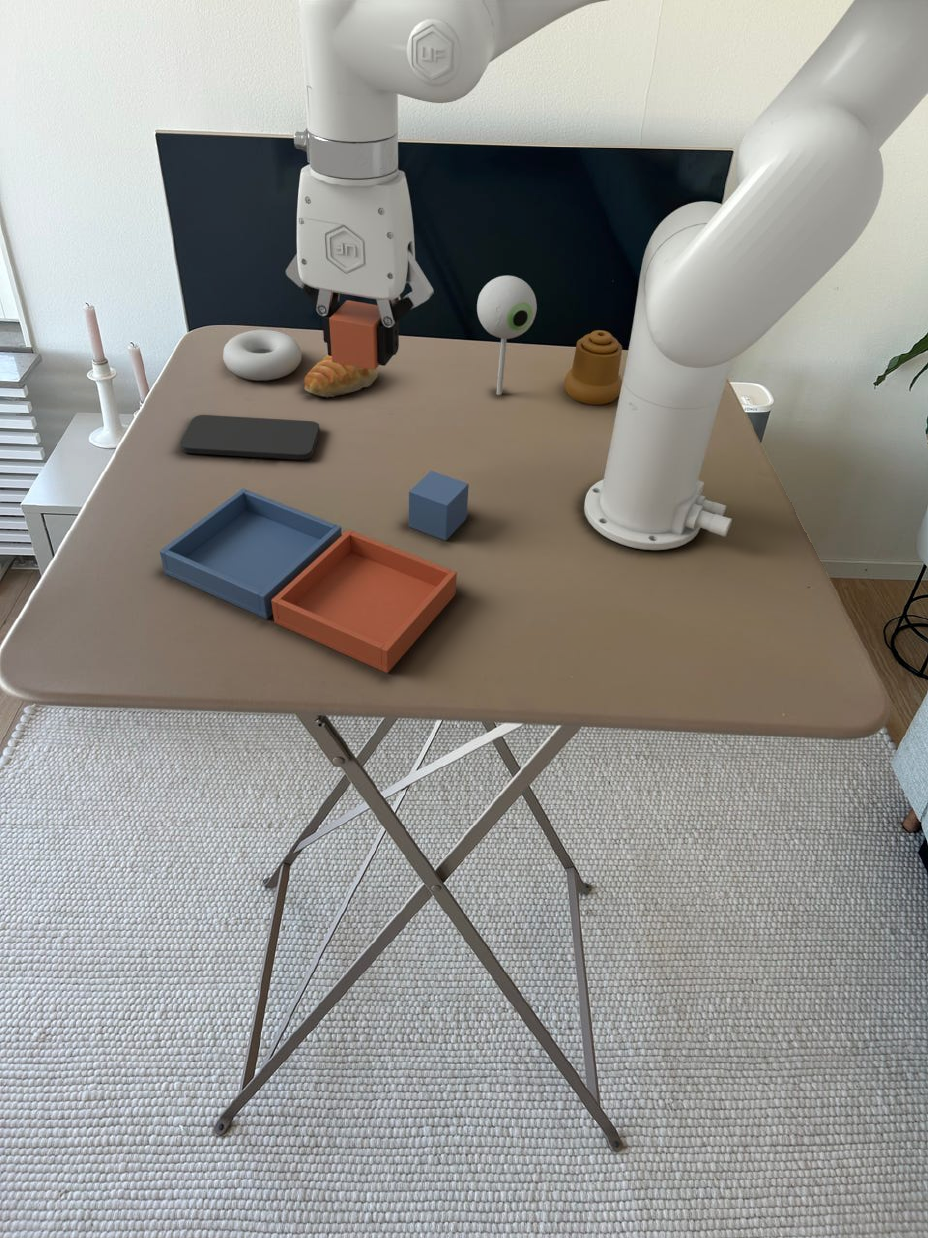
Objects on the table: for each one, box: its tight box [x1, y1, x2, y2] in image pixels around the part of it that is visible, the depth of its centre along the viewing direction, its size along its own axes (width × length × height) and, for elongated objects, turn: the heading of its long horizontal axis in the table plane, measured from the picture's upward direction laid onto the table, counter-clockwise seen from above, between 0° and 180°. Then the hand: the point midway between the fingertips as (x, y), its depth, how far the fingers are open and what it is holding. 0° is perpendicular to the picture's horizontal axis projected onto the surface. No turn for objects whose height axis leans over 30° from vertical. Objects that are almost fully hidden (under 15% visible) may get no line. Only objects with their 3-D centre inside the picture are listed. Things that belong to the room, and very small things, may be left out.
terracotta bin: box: [271, 529, 458, 674], centre depth 81 cm, size 12×12×3 cm
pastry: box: [304, 354, 379, 398], centre depth 111 cm, size 9×7×4 cm
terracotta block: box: [329, 299, 381, 370], centre depth 86 cm, size 4×4×4 cm
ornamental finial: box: [563, 329, 623, 406], centre depth 112 cm, size 8×8×8 cm
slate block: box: [408, 470, 470, 542], centre depth 91 cm, size 4×4×4 cm
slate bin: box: [159, 487, 343, 620], centre depth 86 cm, size 12×12×3 cm
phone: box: [179, 414, 321, 460], centre depth 102 cm, size 7×1×15 cm
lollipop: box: [476, 275, 538, 396], centre depth 108 cm, size 7×7×15 cm
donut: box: [222, 329, 302, 381], centre depth 114 cm, size 10×4×10 cm
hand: (361, 352), depth 87 cm, fingers closed on terracotta block, 4 cm apart
